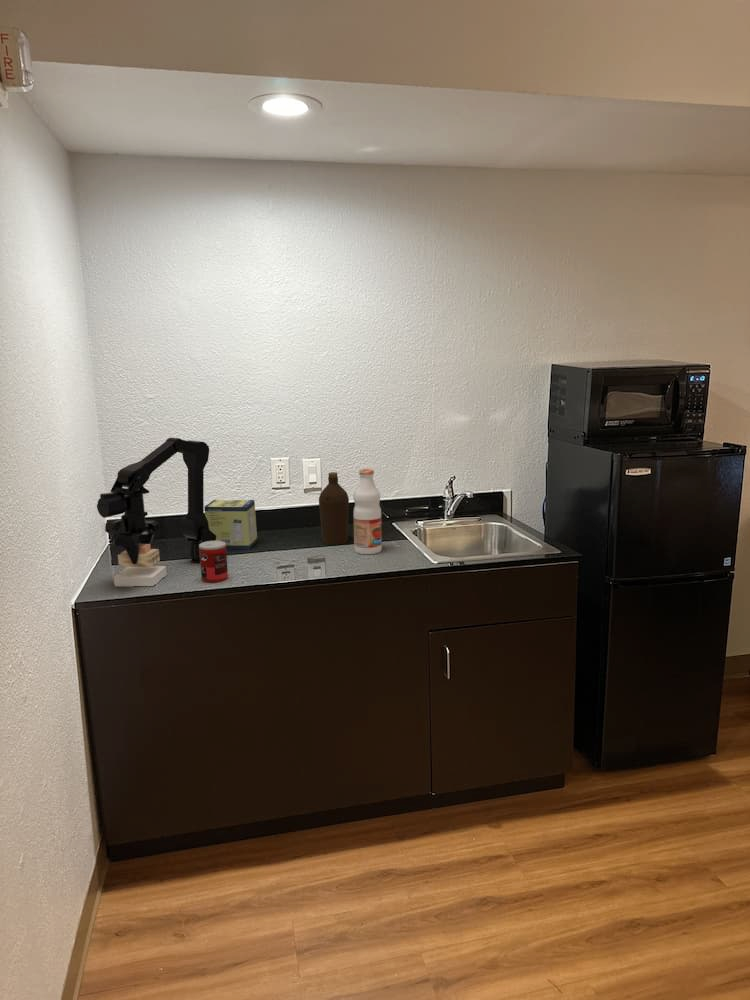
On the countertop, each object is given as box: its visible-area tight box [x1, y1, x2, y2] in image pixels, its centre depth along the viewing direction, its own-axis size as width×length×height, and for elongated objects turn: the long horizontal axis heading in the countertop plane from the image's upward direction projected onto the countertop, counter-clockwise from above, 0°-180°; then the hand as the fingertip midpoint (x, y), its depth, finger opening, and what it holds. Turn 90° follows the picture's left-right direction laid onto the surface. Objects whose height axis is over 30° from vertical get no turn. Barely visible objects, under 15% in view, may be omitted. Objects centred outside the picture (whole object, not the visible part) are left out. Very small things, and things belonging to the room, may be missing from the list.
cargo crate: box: [126, 544, 152, 554], centre depth 205 cm, size 6×4×2 cm, turn 85°
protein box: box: [204, 499, 258, 551], centre depth 241 cm, size 10×16×16 cm
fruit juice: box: [352, 468, 383, 555], centre depth 230 cm, size 9×9×28 cm
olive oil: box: [318, 471, 350, 546], centre depth 242 cm, size 11×11×25 cm
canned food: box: [199, 541, 229, 583], centre depth 207 cm, size 8×8×11 cm
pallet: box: [117, 548, 161, 568], centre depth 206 cm, size 10×6×4 cm, turn 85°
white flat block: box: [113, 565, 168, 587], centre depth 207 cm, size 12×10×3 cm
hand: (139, 560), depth 206 cm, fingers closed on pallet, 6 cm apart
